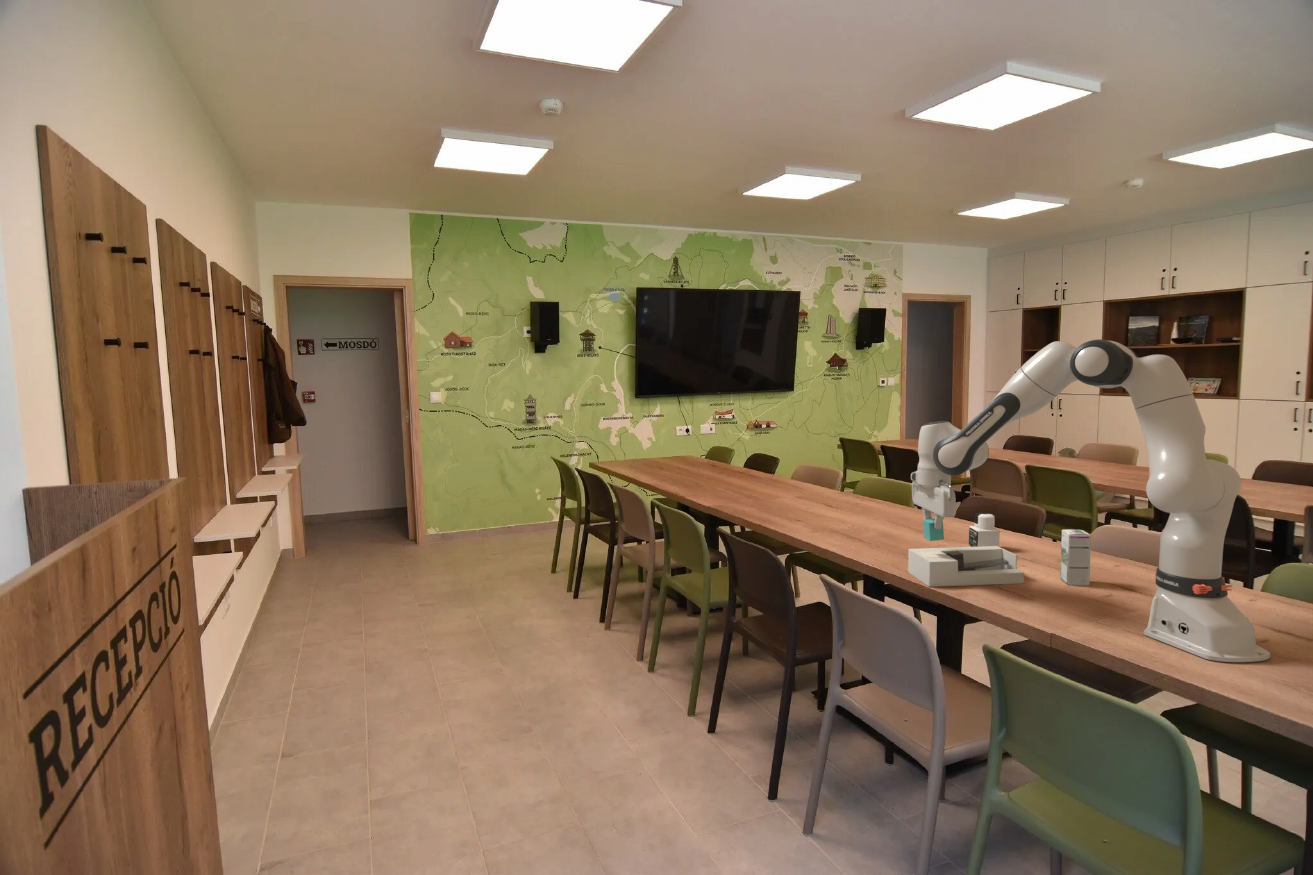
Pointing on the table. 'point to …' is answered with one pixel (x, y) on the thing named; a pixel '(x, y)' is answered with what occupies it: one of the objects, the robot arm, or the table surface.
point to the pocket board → (944, 569)
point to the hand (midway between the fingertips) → (932, 526)
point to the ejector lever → (975, 565)
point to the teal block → (932, 531)
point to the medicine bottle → (983, 531)
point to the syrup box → (1075, 557)
